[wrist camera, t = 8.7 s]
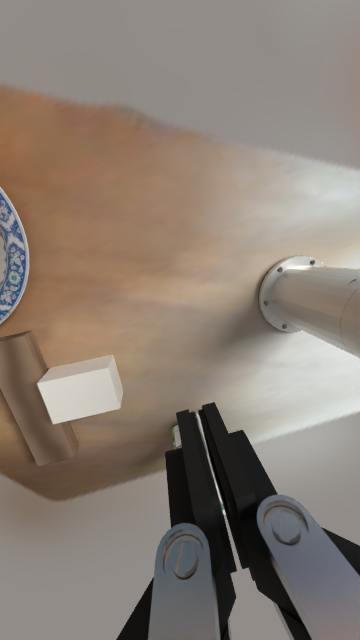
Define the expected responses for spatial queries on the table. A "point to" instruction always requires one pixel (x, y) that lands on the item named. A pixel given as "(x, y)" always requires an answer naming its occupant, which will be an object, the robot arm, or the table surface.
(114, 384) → the block
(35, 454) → the plank
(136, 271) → the table surface
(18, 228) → the ceramic plate
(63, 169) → the table surface
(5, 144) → the table surface
